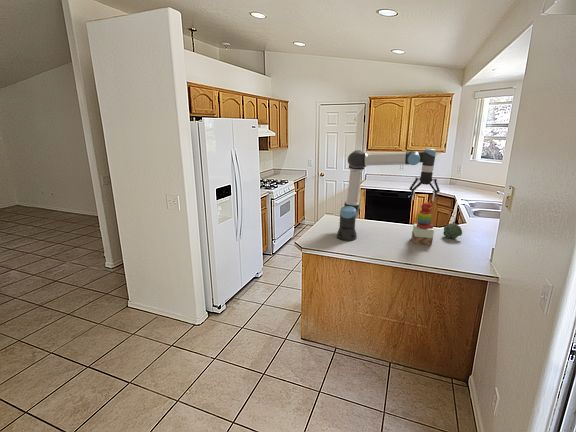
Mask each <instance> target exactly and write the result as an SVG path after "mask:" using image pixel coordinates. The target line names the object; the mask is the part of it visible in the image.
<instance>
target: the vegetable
mask: <svg viewBox="0 0 576 432" xmlns="http://www.w3.org/2000/svg"><path fill="white" fill-rule="evenodd" d="M462 235H463V230H462V227H461V226H460V225H459V224H457V223H456V222H455V223H453V222H450V223H448V224H446V225H445V226H443V236H445V238H449V239H457V238H458V237H459V236H460V237H461V236H462Z"/></svg>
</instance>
